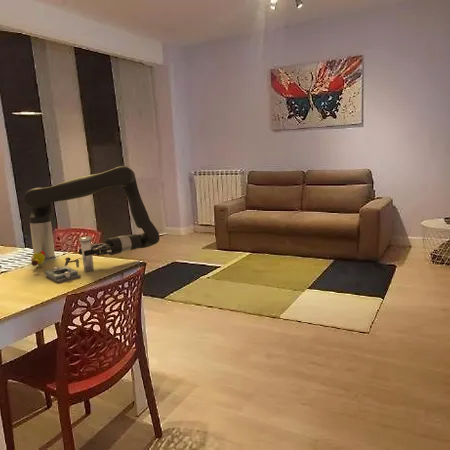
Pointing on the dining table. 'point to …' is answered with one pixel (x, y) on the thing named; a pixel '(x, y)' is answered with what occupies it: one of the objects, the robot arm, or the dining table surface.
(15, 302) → the dining table surface
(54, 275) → the chain end upper
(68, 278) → the chain end lower
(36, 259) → the toy figure
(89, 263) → the steel pin
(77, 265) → the hacksaw
